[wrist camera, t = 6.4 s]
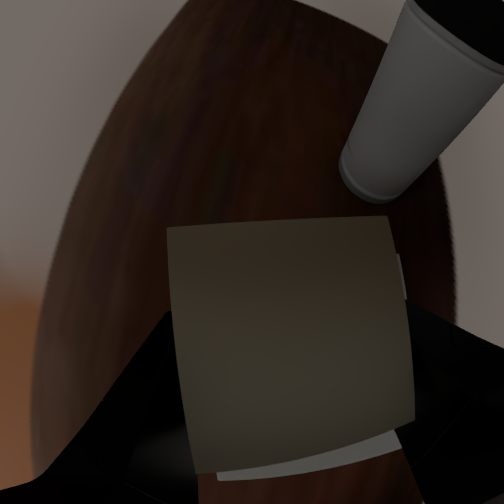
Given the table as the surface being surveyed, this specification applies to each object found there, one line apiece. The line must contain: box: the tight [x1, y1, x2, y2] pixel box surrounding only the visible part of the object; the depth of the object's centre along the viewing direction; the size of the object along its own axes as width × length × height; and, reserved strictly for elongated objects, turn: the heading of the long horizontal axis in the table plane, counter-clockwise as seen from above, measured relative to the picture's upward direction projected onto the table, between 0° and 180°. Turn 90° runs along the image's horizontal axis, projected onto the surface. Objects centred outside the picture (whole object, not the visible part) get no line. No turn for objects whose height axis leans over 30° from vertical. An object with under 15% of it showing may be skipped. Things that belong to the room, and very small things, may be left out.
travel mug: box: [339, 0, 504, 204], centre depth 14 cm, size 6×7×20 cm
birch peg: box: [167, 216, 415, 474], centre depth 9 cm, size 4×4×10 cm
